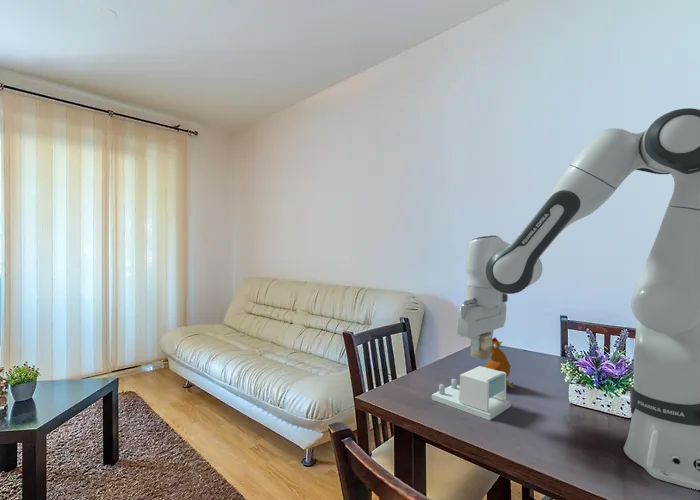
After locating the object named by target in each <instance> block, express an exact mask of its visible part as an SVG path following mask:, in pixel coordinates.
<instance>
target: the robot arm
mask: <svg viewBox="0 0 700 500" xmlns="http://www.w3.org/2000/svg"><path fill="white" fill-rule="evenodd" d="M634 171H639V172H645V173H650V174H654V175H656V174H657V175H671V177H672V178H673V181H674V184H673V186H674V187H673V192H672V195H671V198H670V200H669V202H668V205H667V207H666V210H665V213H664V216H663V219H662V222H661V224H660V226H659V228H658V229H659V230H658V232H657V235H656V237H655V240H654V242H653V244H652V246H651V249H650V252H649V254H648V257H647V258H646V260H645V264H644V265H643V268H642V271H641V274H640V276H639V278H638V281H637V283H636V286H635V288H634V290H633V292H632V296H631V299H630V307H631V313H632V314H633V316H634V318H635V319H636V324H635V325H636V326H635V327H636V328H635V335H634V338H635V339H634V346H633V347H634V348H633V386H632V387H630V395H629V406H630V413H631V419H630V420H631V421H630V427H629V430H628V435H627V438H626V441H625V444H624V445H623V451H624V453H625V455H626V456H627V458H629V459H630V460H632V461H633V462H634V463H636V464H637V465H639V466H641V468H643V469H645V471H646V472H647V474H649V475H650V476H652V477H653V478H654V479H657V480H660V481H664V482H667V483H671V484H674V485H678V486H681V487H685V488H688V489H691V488H692V489H691V490H695V489H696V490H695V491H698V490H700V109H698V108H693V107H692V108H691V107H690V108H688V107H687V108H679V109H674V110H671V111H669V112H667V113H664V114H662V115H661V116H659V117H657V119H655V120H654V121H653V122H652V123H651V125H650V126H649V127H648V128H647V129H646V130H645V131H642V132H638V133H634V132H630V131H628V130H626V129H623V128H616V127H615V128H607V129H603V130H601V131H600V132H598V133H597V134H596V135H595V136H594V137H593V138H592V139H591V140H590V141H589V142H588V143H587V144H585V146H583V148H582V149H581V150H580V151H579V152H578V153H577V154H576V155H575V157H574V158H573V159H572V160H571V162H569V164H568V166H566V168H565V169H564V171H563V173H562V174H561V175H560V177H559V179H557V181H556V183H555V184H554V187H553V189H552V190H551V192H550V194H549V195H548V197H547V198H546V200H545V202H544V203H543V205H542V206H541V208H540V209H539V210H538V212H537V213H536V214H534V217H533V218H532V219H531V220H530V222H529V223H528V224H527V225H526V226H525V227H524V229H523V230H522V231H521V232H520V233H519V235H518V236H517V237H516V238H515V240H514V241H513V242H511V243H509V242H507V241H505V240H504V239H502V238H501V237H500V236H499V235H486V236H479V237H476V238H472V240H470V241H469V243H468V246H467V252H466V261H465V262H466V264H465V271H466V273H467V274H466V276H467V277H466V282H465V296H464V297H465V298H464V299H465V300H464V302H463V304H462V305H461V307H460V308H459V309H458V314H457V321H456V322H457V323H456V333H457V336H458V337H461V338H466V339H469V340H470V344H471V343H472V350H473V351H480V350H481V344H479V338H480V335H481V334H484V333H488V334H492V337H493V335H494V331H495V330H497V329H501V328H503V327H504V326H505V323H506V319H507V318H506V317H507V303H508V300H509V296H508V295H513V294H514V295H515V294H517V293H520V292H522V291H523V290H525V289H526V288H528V287H530V286H531V285H533V284H535V283H536V282H537V281H539V280H540V278H541V276H542V273H543V264H542V260H541V259H540V258H541V256H542V255H543V254H544V253H545V251H546V250H547V249H548V248H549V247H550V245H551V244H553V242H554V241H555V239H557V237H558V236H559V235H560V234H561V233H562V232H563V231H564V230H565V229H566V228H568V227H569V226H570V225H572V224H573V223H575V222H577V221H578V220H581V219H583V218H586V217H588V216H591V215H592V214H593V213H594V212H595V211H596V210H599V208H600V207H602V205H604V204H605V203H606V201H608V200H609V198H611V196H612V195H613V194H614V193H615V192H616V190H617V189H618V188H619V187H620V186H621V185H622V183H623V182H624V181H625V180H626V179H627V178H628V177H629V175H631V174H632V173H633V172H634Z"/></svg>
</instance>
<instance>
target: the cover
mask: <svg viewBox="0 0 700 500" xmlns="http://www.w3.org/2000/svg"><path fill="white" fill-rule="evenodd" d="M506 380H507V378H506V373H505V372H501V371H497V370H493V369H489V368H486V367H484V366H480V365H479V366H476V367H475V368H472V369H470V370H468V371H465V372H463V373H461V374H460V375H459V386H460V403H463V404H466V405H469V406H472V407H475V408H478V409H481V410H484V411H486V412H487V411H489V398H491V397H494V398H497V399H500V400H503V401H505V400H507V384H506Z"/></svg>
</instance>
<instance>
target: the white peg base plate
mask: <svg viewBox="0 0 700 500" xmlns="http://www.w3.org/2000/svg"><path fill="white" fill-rule="evenodd" d="M450 381H451V382H450V383H451V385H449V386H447V387H446V386H445V384H442V383H440V384H438V391H436V392H434V393H432V394H431V400H433V401H435V402H438V403H441V404H443V405H447V406H448V407H451V408H454V409H458V410H460V411H463V412H466V413H467V414H471V415H474V416H476V417H479V418H483V419H485V420H488V421H491V420H492V419H494V418H495V417H497V416H499V415H500V414H501V413H503V412H505V411H506V410H508V409H509V408H511V401H510V400H507V399H506V400H505V401H503V400H500V399H497V398H494V397H491V398H489V411H487V412H486V411H484V410H481V409H478V408H475V407H472V406H469V405H466V404H463V403H460V384H458V379H456V378H451V380H450Z"/></svg>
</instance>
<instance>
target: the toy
mask: <svg viewBox="0 0 700 500" xmlns="http://www.w3.org/2000/svg"><path fill="white" fill-rule="evenodd" d="M502 343H503V341H499V340H498V339H497V338H496V337H492V357H490V358H489V359H491V360H489V361H488V362H486V364H484V366H483V367H486V368H489V369H493V370H497V371H501V372H505V373H506V386H508V387H510V388H511V389H514V388H515V387H516V384H514V382H515V381H512V382H510V381H509V380H507V378H508V376H510V373H511V367H512V366H511V365H510V362H509V360H508V358H507V355H506V354H505V352H504V351H502V350H501V349H500V346H501V345H502Z"/></svg>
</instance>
